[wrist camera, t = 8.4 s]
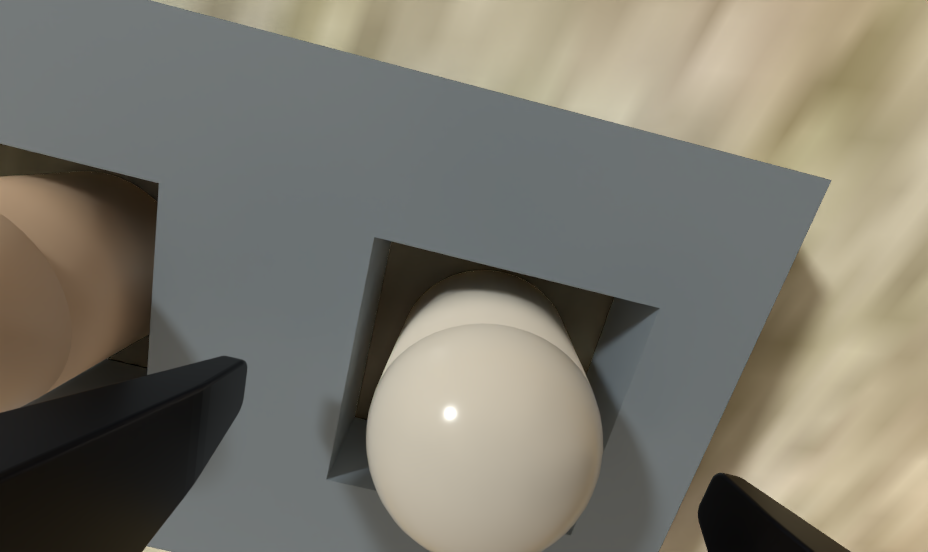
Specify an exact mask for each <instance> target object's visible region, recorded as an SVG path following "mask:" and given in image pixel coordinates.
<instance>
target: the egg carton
mask: <svg viewBox="0 0 928 552" xmlns="http://www.w3.org/2000/svg"><path fill="white" fill-rule="evenodd" d="M0 144H4V145H8V146H12V147H16V148H20V149H24V150H28V151H32V152H36V153H40V154H44V155H48V156H52V157H56V158H60V159H64V160H68V161H72V162H76V163H80V164H84V165H88V166H92V167H96V168H100V169H104V170H108V171H112V172H116V173H120V174H124V175H128V176H132V177H136V178H140V179H144V180H148V181H152V182H156V183H159V190H158V202H157V201H156V200H155V199H153V198H152V197H151V196H150V195H149V194H147V193H146V192H145V191H143V190H142V189H141V188H139V187H137V186H136V185H134V184H132V183H130V182H128V181H126V180H124V179H122V178H119V177H116V176H113V175H110V174H107V173H101V172H96V171H74V172H60V173H45V174H31V175H16V176H2V177H0V413H1V412H5V411H9V410H13V409H17V408H20V407H24V406H28V405H32V404H36V403H40V402H44V401H48V400H52V399H56V398H59V397H63V396H67V395H71V394H75V393H79V392H83V391H87V390H91V389H95V388H98V387H102V386H106V385H110V384H114V383H118V382H122V381H126V380H130V379H134V378H137V377H141V376H145V375H149V374H153V373H157V372H161V371H165V370H169V369H173V368H176V367H180V366H184V365H188V364H192V363H196V362H200V361H204V360H208V359H212V358H215V357H219V356H230V357H234V358H238V359H242V360H245V361H246V363H247V377H246V385H245V393H244V400H243V404H242V407H241V409H240V412H239V413H238V415H237V417H236V418H235V420H234V422H233V423H232V425H231V426H230V428H229V430H228V431H227V433H226V434H225V436H224V438H223V439H222V441H221V442H220V444H219V446H218V447H217V449H216V451H215V452H214V454H213V455H212V457H211V459H210V460H209V462H208V463H207V465H206V467H205V468H204V470H203V471H202V473H201V475H200V476H199V478H198V479H197V481H196V482H195V484H194V485H193V487H192V488H191V489H190V491H189V492H188V493H187V495H186V496H185V497H184V499H183V500H182V501H181V502H180V504H179V505H178V506H177V508H176V509H175V510H174V511H173V513H172V514H171V515H170V517H169V518H168V519H167V520H166V522H165V523H164V524H163V526H162V527H161V528H160V529H159V531H158V532H157V533H156V535H155V536H154V537H153V538H152V540H151V541H150V542H149V544H148V545H147V546H148V547H153V548H157V549H162V550H166V551H171V552H430V551H429V550H427V549H425V548H424V547H423V546H421V545H420V544H418V543H417V542H416V541H414V540H413V539H412V538H411V537H409V536H408V535H407V534H406V533H405V532H404V531H403V530H402V529H401V528H400V527H399V526H398V525H397V523H396V522H395V521H394V520H393V518H392V517H391V515H390V514H389V512H388V511H387V509H386V508H385V506H384V505H383V503H382V501H381V499H380V497H379V495H378V493H377V491H376V488H375V485H374V483H373V480H372V477H371V473H370V470H369V464H368V458H367V451H366V428H367V420H364V419H360V418H356V417H355V414H356V409H357V404H358V400H359V395H360V390H361V385H362V380H363V376H364V371H365V366H366V361H367V357H368V352H369V347H370V342H371V337H372V333H373V328H374V323H375V318H376V313H377V309H378V304H379V299H380V294H381V289H382V285H383V280H384V275H385V270H386V265H387V261H388V256H389V251H390V246H391V241H392V242H396V243H400V244H404V245H408V246H412V247H416V248H420V249H424V250H428V251H432V252H436V253H440V254H444V255H448V256H452V257H456V258H460V259H464V260H468V261H472V262H476V263H481V264H485V265H489V266H493V267H497V268H501V269H505V270H509V271H513V272H517V273H521V274H525V275H529V276H533V277H537V278H541V279H545V280H549V281H553V282H557V283H561V284H565V285H569V286H573V287H577V288H581V289H585V290H589V291H593V292H597V293H601V294H605V295H609V296H613V297H614V299H613V302H612V305H611V308H610V311H609V313H608V316H607V319H606V322H605V324H604V327H603V330H602V333H601V336H600V338H599V341H598V344H597V347H596V349H595V352H594V355H593V358H592V361H591V363H590V366H589V369H588V372H587V374H586V377H587V379H588V381H589V383H590V386H591V388H592V390H593V393H594V396H595V399H596V402H597V405H598V408H599V412H600V416H601V422H602V430H603V454H602V461H601V468H600V474H599V477H598V480H597V484H596V487H595V489H594V492H593V494H592V496H591V498H590V500H589V503H588V505H587V507H586V508H585V510H584V511H583V513H582V514H581V516H580V517H579V518H578V520H577V521H576V522H575V524H574V525H573V526H572V527H571V528H570V529H569V531H568V532H567V533H566V534H565V535H563V536H562V537H561V538H560V539H559V540H558V541H556V542H555V543H554V544H552V545H551V546H549V547H548V548H546V549H545V550H543V551H542V552H659V550H660V548H661V546H662V544H663V541H664V539H665V537H666V535H667V533H668V531H669V529H670V526H671V524H672V522H673V520H674V518H675V516H676V513H677V511H678V509H679V507H680V505H681V503H682V501H683V498H684V496H685V494H686V492H687V490H688V488H689V485H690V483H691V481H692V479H693V477H694V475H695V473H696V470H697V468H698V466H699V464H700V462H701V460H702V458H703V455H704V453H705V451H706V449H707V447H708V445H709V442H710V440H711V438H712V436H713V434H714V432H715V430H716V427H717V425H718V423H719V421H720V419H721V417H722V415H723V412H724V410H725V408H726V406H727V404H728V402H729V399H730V397H731V395H732V393H733V391H734V389H735V387H736V384H737V382H738V380H739V378H740V376H741V374H742V372H743V369H744V367H745V365H746V363H747V361H748V359H749V356H750V354H751V352H752V350H753V348H754V346H755V344H756V341H757V339H758V337H759V335H760V333H761V331H762V328H763V326H764V324H765V322H766V320H767V318H768V316H769V313H770V311H771V309H772V307H773V305H774V303H775V301H776V298H777V296H778V294H779V292H780V290H781V288H782V285H783V283H784V281H785V279H786V277H787V275H788V273H789V270H790V268H791V266H792V264H793V262H794V260H795V258H796V255H797V253H798V251H799V249H800V247H801V245H802V242H803V240H804V238H805V236H806V234H807V232H808V230H809V227H810V225H811V223H812V221H813V219H814V217H815V215H816V212H817V210H818V208H819V206H820V204H821V202H822V199H823V197H824V195H825V193H826V191H827V189H828V187H829V184H830V182H831V180H829V179H825V178H821V177H817V176H814V175H810V174H806V173H802V172H798V171H795V170H791V169H787V168H783V167H779V166H776V165H772V164H768V163H764V162H760V161H757V160H753V159H749V158H745V157H741V156H738V155H734V154H730V153H726V152H723V151H719V150H715V149H711V148H707V147H704V146H700V145H696V144H692V143H688V142H685V141H681V140H677V139H673V138H669V137H666V136H662V135H658V134H654V133H651V132H647V131H643V130H639V129H635V128H632V127H628V126H624V125H620V124H616V123H613V122H609V121H605V120H601V119H597V118H594V117H590V116H586V115H582V114H579V113H575V112H571V111H567V110H563V109H560V108H556V107H552V106H548V105H544V104H541V103H537V102H533V101H529V100H525V99H522V98H518V97H514V96H510V95H507V94H503V93H499V92H495V91H491V90H488V89H484V88H480V87H476V86H472V85H469V84H465V83H461V82H457V81H453V80H450V79H446V78H442V77H438V76H434V75H431V74H427V73H423V72H419V71H416V70H412V69H408V68H404V67H400V66H397V65H393V64H389V63H385V62H381V61H378V60H374V59H370V58H366V57H362V56H359V55H355V54H351V53H347V52H344V51H340V50H336V49H332V48H328V47H325V46H321V45H317V44H313V43H309V42H306V41H302V40H298V39H294V38H290V37H287V36H283V35H279V34H275V33H272V32H268V31H264V30H260V29H256V28H253V27H249V26H245V25H241V24H237V23H234V22H230V21H226V20H222V19H218V18H215V17H211V16H207V15H203V14H199V13H196V12H192V11H188V10H184V9H181V8H177V7H173V6H169V5H165V4H162V3H158V2H154V1H150V0H0ZM148 334H150V336H149V353H148V369H147V368H143V367H139V366H134V365H130V364H126V363H122V362H117V361H113V360H109V359H107V358H108V357H110V356H112V355H114V354H115V353H117V352H119V351H121V350H122V349H124V348H126V347H127V346H129V345H131V344H133V343H134V342H136V341H138V340H140V339H141V338H143V337H145V336H147V335H148Z"/></svg>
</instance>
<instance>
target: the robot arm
mask: <svg viewBox="0 0 928 552" xmlns="http://www.w3.org/2000/svg"><path fill="white" fill-rule="evenodd" d="M246 377H247V363H246V361H245V360H242V359H238V358H234V357H230V356H219V357H215V358H212V359H208V360H204V361H200V362H196V363H192V364H188V365H184V366H180V367H176V368H173V369H169V370H165V371H161V372H157V373H153V374H149V375H145V376H141V377H137V378H134V379H130V380H126V381H122V382H118V383H114V384H110V385H106V386H102V387H98V388H95V389H91V390H87V391H83V392H79V393H75V394H71V395H67V396H63V397H59V398H56V399H52V400H48V401H44V402H40V403H36V404H32V405H28V406H24V407H20V408H17V409H13V410H9V411H5V412H1V413H0V552H142V551H143V550H144V549H145V547H146V546H147V545H148V544H149V542H150V541H151V540H152V538H153V537H154V536H155V535H156V533H157V532H158V531H159V529H160V528H161V527H162V526H163V524H164V523H165V522H166V520H167V519H168V518H169V517H170V515H171V514H172V513H173V511H174V510H175V509H176V508H177V506H178V505H179V504H180V502H181V501H182V500H183V499H184V497H185V496H186V495H187V493H188V492H189V491H190V489H191V488H192V487H193V485H194V484H195V482H196V481H197V479H198V478H199V476H200V475H201V473H202V471H203V470H204V468H205V467H206V465H207V463H208V462H209V460H210V459H211V457H212V455H213V454H214V452H215V451H216V449H217V447H218V446H219V444H220V442H221V441H222V439H223V438H224V436H225V434H226V433H227V431H228V430H229V428H230V426H231V425H232V423H233V422H234V420H235V418H236V417H237V415H238V413H239V412H240V409H241V407H242V404H243V400H244V393H245V385H246ZM698 520H699V524H700V527H701V530H702V534H703V537H704V540H705V544H706V547H707V550H708V552H850V551H849V550H847V549H846V548H844V547H843V546H841V545H840V544H839V543H837V542H836V541H834V540H833V539H831V538H830V537H828V536H827V535H825V534H824V533H822V532H821V531H819V530H818V529H816V528H815V527H813V526H812V525H810V524H809V523H808V522H806V521H805V520H803V519H802V518H800V517H799V516H797V515H796V514H794V513H793V512H791V511H790V510H788V509H787V508H785V507H784V506H782V505H781V504H779V503H778V502H777V501H775V500H774V499H772V498H771V497H769V496H768V495H766V494H765V493H763V492H762V491H760V490H759V489H757V488H756V487H754V486H753V485H751V484H750V483H748V482H747V481H746V480H744V479H742V478H740V477H738V476H734V475H729V474H725V473H718V474H716V475H715V476H713V478H712V480H711V482H710V484H709V486H708V488H707V490H706V492H705V495H704V497H703V499H702V501H701V503H700V505H699V509H698Z"/></svg>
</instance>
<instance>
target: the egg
mask: <svg viewBox="0 0 928 552" xmlns="http://www.w3.org/2000/svg"><path fill="white" fill-rule="evenodd" d="M366 451H367V458H368V464H369V470H370V473H371V477H372V480H373V483H374V485H375V488H376V491H377V493H378V495H379V497H380V499H381V501H382V503H383V505H384V506H385V508H386V509H387V511H388V512H389V514H390V515H391V517H392V518H393V520H394V521H395V522H396V523H397V525H398V526H399V527H400V528H401V529H402V530H403V531H404V532H405V533H406V534H407V535H408V536H409V537H411V538H412V539H413V540H414V541H416V542H417V543H418V544H420V545H421V546H423V547H424V548H425V549H427V550H429V551H430V552H542V551H543V550H545V549H546V548H548V547H549V546H551V545H552V544H554V543H555V542H556V541H558V540H559V539H560V538H561V537H562V536H563V535H565V534H566V533H567V532H568V531H569V529H570V528H571V527H572V526H573V525H574V524H575V522H576V521H577V520H578V518H579V517H580V516H581V514H582V513H583V511H584V510H585V508H586V507H587V505H588V503H589V500H590V498H591V496H592V494H593V492H594V489H595V487H596V484H597V480H598V477H599V474H600V468H601V461H602V454H603V430H602V422H601V416H600V412H599V408H598V405H597V402H596V399H595V396H594V393H593V390H592V388H591V386H590V383H589V381H588V379H587V377H586V374H585V372H584V370H583V367H582V365H581V363H580V361H579V358H578V356H577V354H576V352H575V349H574V347H573V345H572V342H571V340H570V338H569V336H568V333H567V331H566V329H565V327H564V324H563V322H562V320H561V318H560V316H559V314H558V312H557V310H556V308H555V307H554V305H553V304H552V302H551V301H550V300H549V299H548V298H547V297H546V296H545V295H544V294H543V293H542V292H541V291H540V290H539V289H537V288H536V287H535V286H533V285H532V284H530V283H529V282H527V281H525V280H523V279H521V278H519V277H517V276H514V275H511V274H508V273H504V272H499V271H491V270H476V271H468V272H463V273H459V274H456V275H453V276H450V277H448V278H446V279H444V280H442V281H440V282H438V283H437V284H435V285H434V286H432V287H431V288H430V289H428V290H427V291H426V292H425V293H424V294H423V295H422V296H421V297H420V298H419V299H418V300H417V302H416V303H415V304H414V306H413V307H412V309H411V311H410V312H409V315H408V317H407V319H406V321H405V323H404V326H403V328H402V330H401V332H400V335H399V337H398V339H397V342H396V344H395V346H394V348H393V351H392V353H391V355H390V358H389V360H388V362H387V365H386V367H385V369H384V371H383V374H382V376H381V378H380V381H379V383H378V385H377V387H376V390H375V392H374V396H373V399H372V402H371V406H370V409H369V413H368V420H367V428H366Z"/></svg>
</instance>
